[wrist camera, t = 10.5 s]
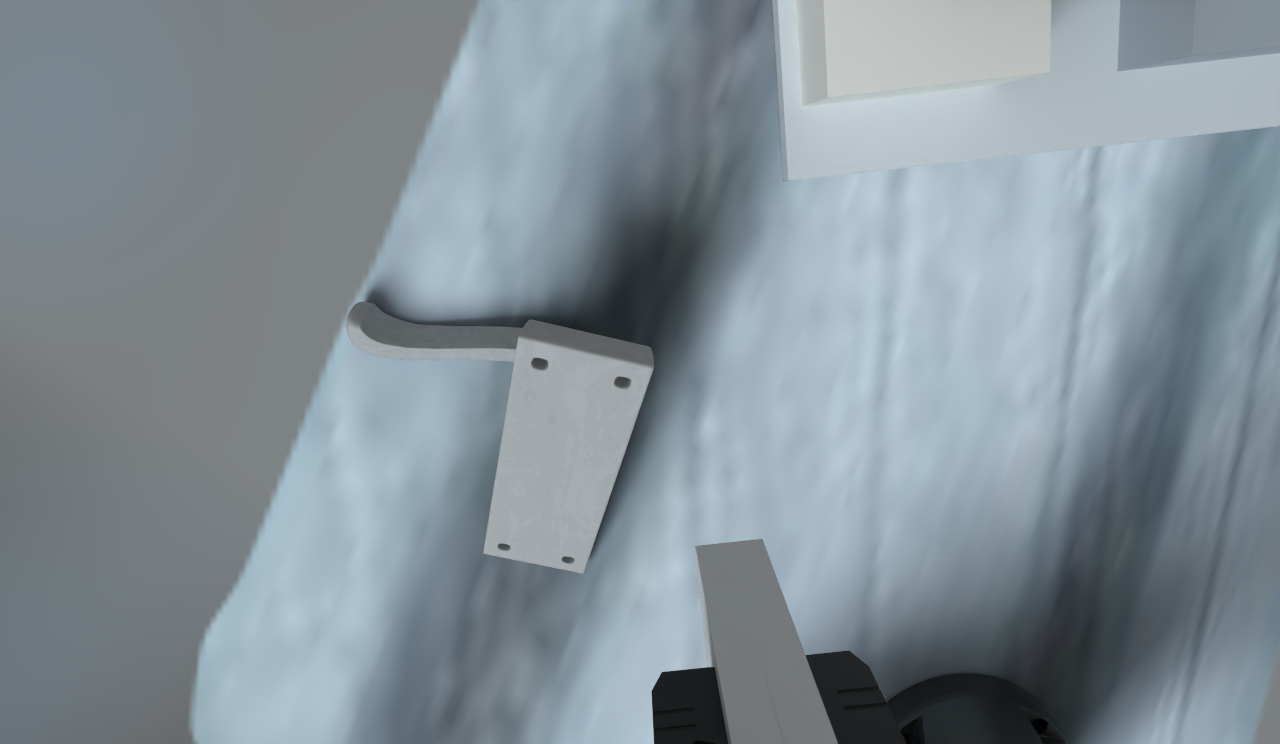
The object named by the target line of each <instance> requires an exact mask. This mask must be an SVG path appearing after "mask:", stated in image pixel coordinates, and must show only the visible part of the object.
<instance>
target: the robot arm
mask: <svg viewBox="0 0 1280 744" xmlns="http://www.w3.org/2000/svg"><path fill="white" fill-rule="evenodd" d="M695 548H696V558H697V568H698V578H699V588H700V598H701V608H702V618H703V629H704V639H705V649H706V657H707V663H708V667H707V668H698V669H688V670H679V671H669V672H662V673H661V675H660V677H659V679H658V681H657V682H656V684H655V686H654V688H653V690H652V707H653V728H654V744H1068V743H1067V741H1066V739H1065V737H1064V735H1063V734H1062V732H1061V730H1060V729H1059V727H1058V726H1057V725H1056V723H1055V722H1054V721H1053V720H1052V718H1051V717H1050V716H1049V714H1048V713H1047V712H1046V710H1045V709H1044V708H1043V707H1042V705H1041V704H1040V703H1039V702H1038V701H1037V700H1036V699H1035V698H1034V697H1033V696H1031V695H1030V694H1029V693H1028V692H1026V691H1025V690H1023V689H1022V688H1020V687H1018V686H1016V685H1014V684H1012V683H1010V682H1007V681H1005V680H1002V679H998V678H995V677H990V676H984V675H974V674H961V675H951V676H945V677H940V678H936V679H932V680H929V681H926V682H923V683H921V684H918V685H916V686H914V687H912V688H910V689H908V690H906V691H904V692H903V693H901V694H900V695H898V696H897V697H895V698H894V699H892V700H891V701H890V702H889V703H887V704H886V701H885V699H884V697H883V695H882V693H881V691H880V690H879V688H878V685H877V683H876V681H875V678H874V676H873V674H872V672H871V670H870V668H869V667H868V666H867V665H866V664H865V663H864V662H862V661H861V660H860V659H859V658H858V657H856V656H855V655H854V654H853V653H851V652H850V651H842V652H832V653H823V654H813V655H805V653H804V650H803V648H802V645H801V642H800V640H799V637H798V634H797V631H796V629H795V626H794V623H793V621H792V618H791V615H790V613H789V610H788V607H787V604H786V602H785V599H784V596H783V594H782V591H781V588H780V586H779V583H778V580H777V577H776V575H775V572H774V569H773V567H772V564H771V561H770V559H769V556H768V553H767V550H766V548H765V545H764V542H763V540H762V539H758V540H748V541H739V542H729V543H720V544H711V545H701V546H695Z"/></svg>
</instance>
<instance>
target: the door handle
mask: <svg viewBox="0 0 1280 744" xmlns="http://www.w3.org/2000/svg"><path fill="white" fill-rule="evenodd" d="M347 333H348V336H349V339H350V341H351V343H352V345H353V346H354V347H356V348H357V349H359V350H361V351H364V352H366V353H368V354H371V355H374V356H378V357H384V358H391V359H401V360H498V361H510V362H514V366H513V372H512V378H511V384H510V391H509V397H508V403H507V409H506V415H505V421H504V428H503V434H502V440H501V446H500V452H499V459H498V465H497V471H496V477H495V483H494V489H493V496H492V502H491V508H490V514H489V520H488V527H487V533H486V539H485V545H484V551H483V553H484V554H488V555H493V556H498V557H503V558H508V559H513V560H518V561H523V562H528V563H533V564H538V565H543V566H548V567H553V568H558V569H563V570H568V571H573V572H578V573H584V571H585V568H586V565H587V562H588V559H589V556H590V554H591V551H592V548H593V545H594V542H595V539H596V536H597V533H598V530H599V527H600V524H601V521H602V518H603V516H604V513H605V510H606V507H607V504H608V501H609V498H610V495H611V492H612V489H613V486H614V483H615V481H616V478H617V475H618V472H619V469H620V466H621V463H622V460H623V457H624V454H625V451H626V448H627V445H628V443H629V440H630V437H631V434H632V431H633V428H634V425H635V422H636V419H637V416H638V413H639V410H640V407H641V405H642V402H643V399H644V396H645V393H646V390H647V387H648V384H649V381H650V378H651V375H652V372H653V370H654V358H653V353H652V349H651V348H650V347H649V346H645V345H640V344H636V343H632V342H627V341H623V340H619V339H614V338H610V337H606V336H601V335H597V334H593V333H588V332H584V331H580V330H575V329H571V328H567V327H562V326H558V325H554V324H549V323H545V322H541V321H536V320H532V319H530V320H528V321H527V323H526V324H525V325H524V327H523V328H516V327H500V326H442V325H422V324H414V323H410V322H406V321H403V320H400V319H397V318H394V317H392V316H390V315H388V314H386V313H384V312H383V311H382V310H380V309H379V308H378V307H377V306H376V305H375V304H374V303H369V302H359V303H357V304H355V305H354V306H353V308H352V309H351V311H350V313H349V315H348V318H347Z"/></svg>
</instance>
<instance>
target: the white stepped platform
mask: <svg viewBox="0 0 1280 744" xmlns="http://www.w3.org/2000/svg"><path fill="white" fill-rule="evenodd" d="M772 3H773V20H774V36H775V52H776V69H777V85H778V102H779V118H780V134H781V151H782V167H783V181H793V180H802V179H811V178H820V177H828V176H837V175H846V174H855V173H864V172H873V171H882V170H891V169H900V168H909V167H918V166H926V165H935V164H944V163H953V162H962V161H971V160H980V159H989V158H998V157H1007V156H1016V155H1024V154H1033V153H1042V152H1051V151H1060V150H1069V149H1078V148H1087V147H1096V146H1105V145H1114V144H1122V143H1131V142H1140V141H1149V140H1158V139H1167V138H1176V137H1185V136H1194V135H1203V134H1212V133H1220V132H1229V131H1238V130H1247V129H1256V128H1265V127H1274V126H1280V0H772Z"/></svg>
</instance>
